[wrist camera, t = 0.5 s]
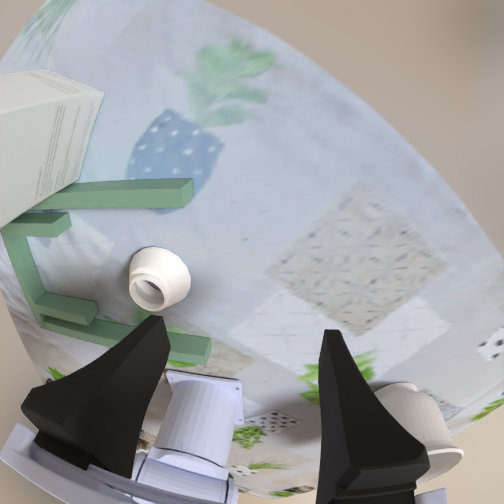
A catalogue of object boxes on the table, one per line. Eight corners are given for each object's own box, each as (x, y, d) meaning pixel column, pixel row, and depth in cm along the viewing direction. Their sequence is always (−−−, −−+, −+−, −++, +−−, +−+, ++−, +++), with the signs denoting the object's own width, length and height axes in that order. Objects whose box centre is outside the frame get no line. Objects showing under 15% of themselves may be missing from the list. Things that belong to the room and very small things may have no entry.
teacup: (311, 426, 32) (307, 499, 23) (375, 353, 24) (391, 453, 15) (390, 434, 32) (396, 497, 23) (462, 368, 24) (487, 445, 16)
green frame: (211, 346, 26) (187, 423, 19) (50, 315, 28) (12, 363, 21) (192, 178, 19) (131, 235, 11) (6, 191, 21) (-54, 229, 14)
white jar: (162, 232, 21) (123, 262, 23) (145, 253, 19) (105, 282, 20) (205, 283, 23) (162, 306, 25) (194, 307, 20) (149, 329, 22)
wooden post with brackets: (143, 429, 38) (136, 454, 35) (152, 429, 44) (146, 451, 42) (132, 425, 38) (125, 450, 35) (143, 426, 44) (137, 448, 42)
